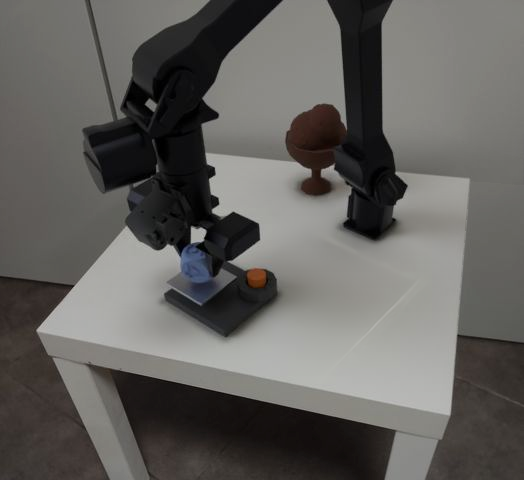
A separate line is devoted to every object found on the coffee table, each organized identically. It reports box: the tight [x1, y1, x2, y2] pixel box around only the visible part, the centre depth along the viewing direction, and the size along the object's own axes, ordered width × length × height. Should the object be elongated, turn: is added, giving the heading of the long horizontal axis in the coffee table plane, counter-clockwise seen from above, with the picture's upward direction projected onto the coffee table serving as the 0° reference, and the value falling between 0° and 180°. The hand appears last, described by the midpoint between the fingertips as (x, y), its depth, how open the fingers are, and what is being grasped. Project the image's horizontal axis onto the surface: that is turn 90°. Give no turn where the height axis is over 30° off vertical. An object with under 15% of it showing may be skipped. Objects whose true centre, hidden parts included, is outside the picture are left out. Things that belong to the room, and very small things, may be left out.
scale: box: [163, 261, 278, 338], centre depth 78 cm, size 13×12×3 cm
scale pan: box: [165, 268, 237, 306], centre depth 77 cm, size 7×7×1 cm
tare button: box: [247, 267, 266, 288], centre depth 76 cm, size 3×3×2 cm
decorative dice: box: [180, 241, 212, 283], centre depth 74 cm, size 4×4×4 cm
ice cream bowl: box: [284, 103, 347, 197], centre depth 92 cm, size 11×11×15 cm
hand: (200, 267), depth 75 cm, fingers closed on decorative dice, 5 cm apart
